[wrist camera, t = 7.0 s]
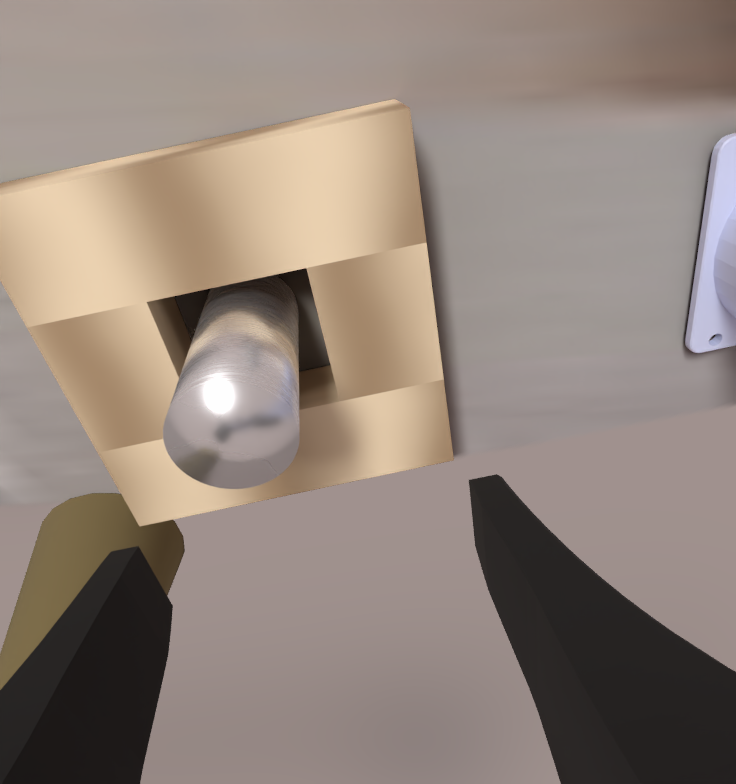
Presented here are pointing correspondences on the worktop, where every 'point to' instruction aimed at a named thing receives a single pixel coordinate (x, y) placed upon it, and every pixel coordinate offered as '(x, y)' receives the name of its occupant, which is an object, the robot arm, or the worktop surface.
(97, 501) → the cork
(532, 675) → the robot arm
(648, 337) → the worktop surface
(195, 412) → the long pin
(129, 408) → the oak frame
